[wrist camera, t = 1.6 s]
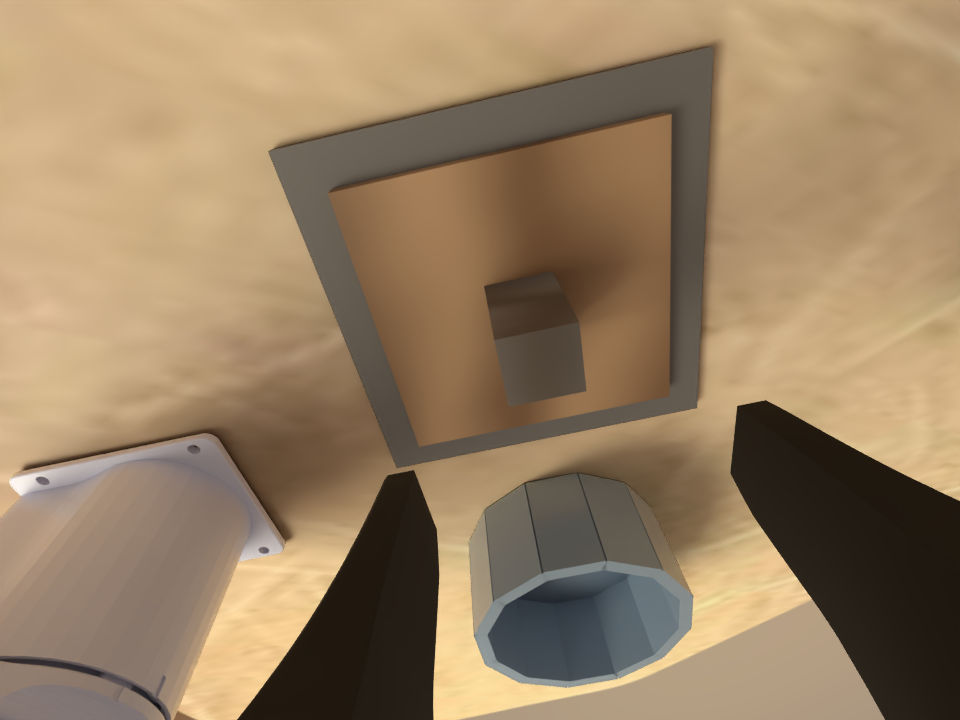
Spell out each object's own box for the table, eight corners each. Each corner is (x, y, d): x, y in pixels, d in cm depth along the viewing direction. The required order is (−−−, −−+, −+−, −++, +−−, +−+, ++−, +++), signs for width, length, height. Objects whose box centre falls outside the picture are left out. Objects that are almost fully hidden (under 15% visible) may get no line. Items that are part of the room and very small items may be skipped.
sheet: (419, 437, 22) (414, 520, 18) (331, 189, 16) (295, 229, 12) (664, 388, 21) (714, 462, 17) (663, 112, 15) (739, 129, 11)
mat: (397, 462, 23) (396, 468, 23) (272, 149, 16) (268, 151, 15) (693, 402, 22) (697, 407, 22) (707, 47, 15) (713, 46, 15)
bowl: (490, 608, 30) (498, 699, 25) (453, 497, 24) (455, 588, 20) (653, 578, 29) (689, 666, 25) (650, 458, 24) (695, 543, 20)
